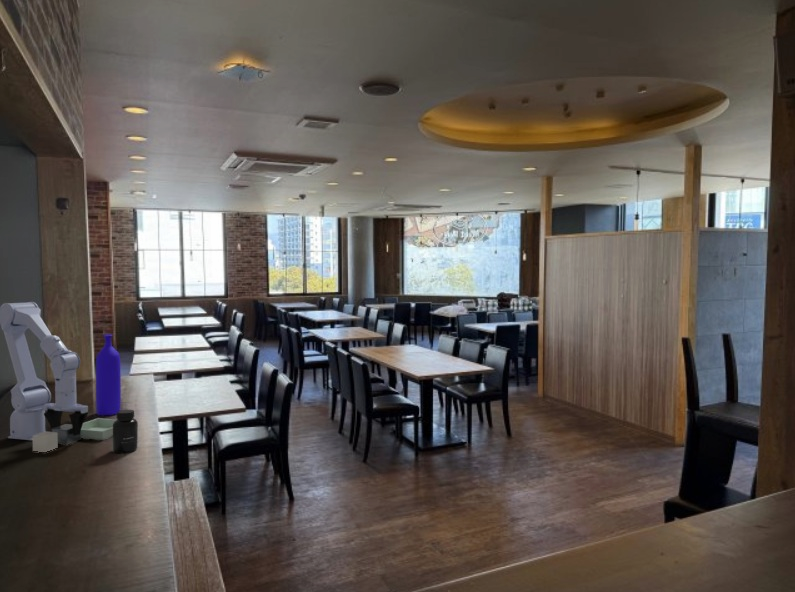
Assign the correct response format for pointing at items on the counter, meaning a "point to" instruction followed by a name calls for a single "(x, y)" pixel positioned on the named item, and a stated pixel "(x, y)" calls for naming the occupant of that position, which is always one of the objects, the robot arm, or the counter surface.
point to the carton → (45, 441)
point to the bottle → (108, 380)
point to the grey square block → (66, 434)
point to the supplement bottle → (125, 432)
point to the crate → (97, 429)
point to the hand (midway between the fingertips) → (66, 433)
